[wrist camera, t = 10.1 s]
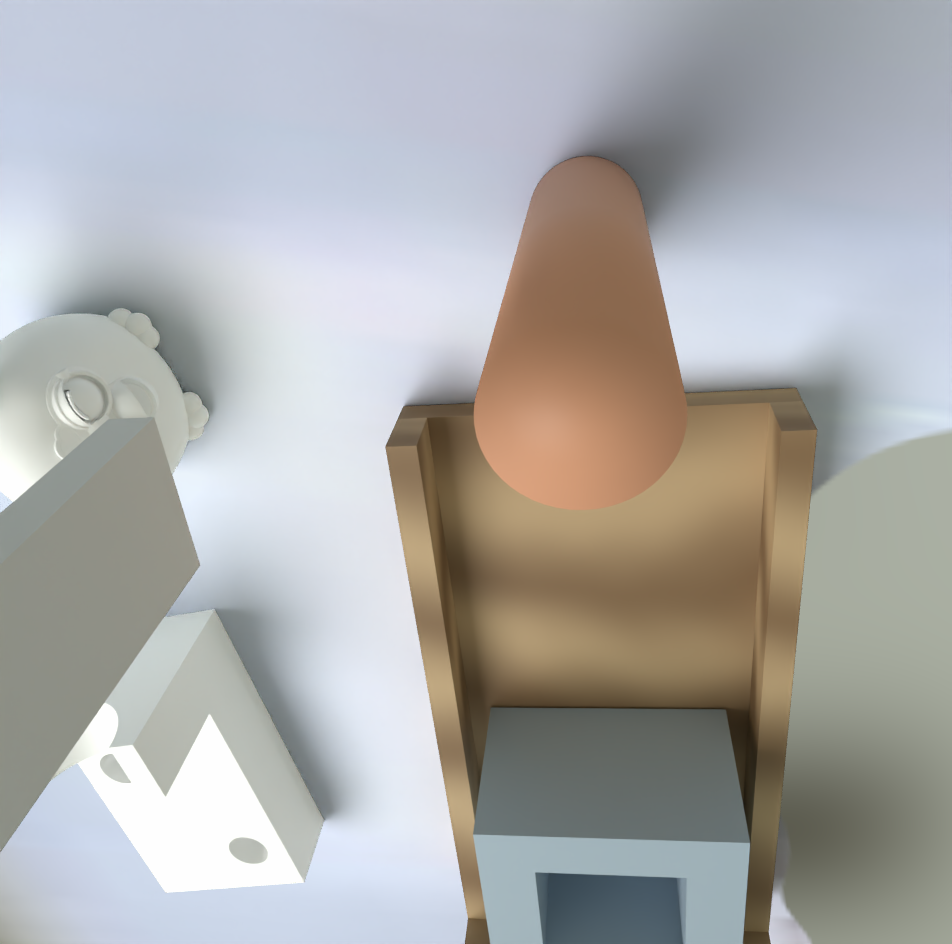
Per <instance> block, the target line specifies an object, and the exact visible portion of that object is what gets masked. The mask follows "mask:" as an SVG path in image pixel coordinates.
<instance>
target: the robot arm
mask: <svg viewBox="0 0 952 944" xmlns="http://www.w3.org/2000/svg"><path fill="white" fill-rule="evenodd" d="M199 566H200V563H199V560H198V557H197V554H196V550H195V547H194V544H193V541H192V538H191V534H190V531H189V528H188V525H187V521H186V518H185V515H184V512H183V508H182V505H181V502H180V499H179V496H178V492H177V489H176V486H175V483H174V479H173V476H172V473H171V470H170V466H169V463H168V460H167V457H166V453H165V450H164V447H163V444H162V441H161V437H160V434H159V431H158V428H157V424H156V421H155V418H154V417H147V418H125V419H108V420H107V421H106V422H105V423H103V424H102V425H101V426H100V427H99V428H98V429H97V430H95V431H94V432H93V433H92V434H91V435H90V436H88V437H87V438H86V439H85V440H84V441H83V442H82V443H80V444H79V445H78V446H77V447H76V448H75V449H74V450H72V451H71V452H70V453H69V454H68V455H67V456H66V457H64V458H63V459H62V460H61V461H60V462H59V463H58V464H56V465H55V466H54V467H53V468H52V469H51V470H49V471H48V472H47V473H46V474H45V475H44V476H43V477H41V478H40V479H39V480H38V481H37V482H36V483H35V484H33V485H32V486H31V487H30V488H29V489H28V490H27V491H25V492H24V493H23V494H22V495H21V496H20V497H18V498H17V499H16V500H15V501H14V502H13V503H12V504H10V505H9V506H8V507H7V508H6V509H5V510H4V511H2V512H1V513H0V852H1V851H2V849H3V848H4V846H5V845H6V844H7V842H8V841H9V839H10V838H11V836H12V835H13V834H14V832H15V831H16V829H17V828H18V826H19V825H20V823H21V822H22V821H23V819H24V818H25V816H26V815H27V813H28V812H29V811H30V809H31V808H32V806H33V805H34V803H35V802H36V800H37V799H38V798H39V796H40V795H41V793H42V792H43V790H44V789H45V788H46V786H47V785H48V783H49V782H50V780H51V779H52V777H53V776H54V775H55V773H56V772H57V770H58V769H59V767H60V766H61V765H62V763H63V762H64V760H65V759H66V757H67V756H68V754H69V753H70V752H71V750H72V749H73V747H74V746H75V744H76V743H77V742H78V740H79V739H80V737H81V736H82V734H83V733H84V731H85V730H86V729H87V727H88V726H89V724H90V723H91V721H92V720H93V719H94V717H95V716H96V714H97V713H98V711H99V710H100V708H101V707H102V706H103V704H104V703H105V701H106V700H107V698H108V697H109V696H110V694H111V693H112V691H113V690H114V688H115V687H116V685H117V684H118V683H119V681H120V680H121V678H122V677H123V675H124V674H125V673H126V671H127V670H128V668H129V667H130V665H131V664H132V662H133V661H134V660H135V658H136V657H137V655H138V654H139V652H140V651H141V650H142V648H143V647H144V645H145V644H146V642H147V641H148V639H149V638H150V637H151V635H152V634H153V632H154V631H155V629H156V628H157V627H158V625H159V624H160V622H161V621H162V619H163V618H164V616H165V615H166V614H167V612H168V611H169V609H170V608H171V606H172V605H173V604H174V602H175V601H176V599H177V598H178V596H179V595H180V593H181V592H182V591H183V589H184V588H185V586H186V585H187V583H188V582H189V581H190V579H191V578H192V576H193V575H194V573H195V572H196V570H197V569H198V568H199Z"/></svg>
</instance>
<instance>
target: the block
mask: <svg viewBox="0 0 952 944" xmlns="http://www.w3.org/2000/svg"><path fill="white" fill-rule="evenodd" d="M473 838H474V844H475V850H476V857H477V863H478V869H479V875H480V882H481V888H482V894H483V901H484V907H485V913H486V919H487V926H488V932H489V938H490V944H743V934H744V920H745V907H746V893H747V880H748V866H749V853H750V839H749V834H748V828H747V823H746V817H745V812H744V806H743V801H742V796H741V790H740V785H739V779H738V774H737V768H736V763H735V757H734V752H733V746H732V741H731V736H730V730H729V725H728V719H727V714H726V709H611V708H491V709H490V717H489V724H488V731H487V738H486V745H485V752H484V759H483V767H482V774H481V781H480V788H479V795H478V802H477V810H476V817H475V824H474V831H473Z"/></svg>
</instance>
